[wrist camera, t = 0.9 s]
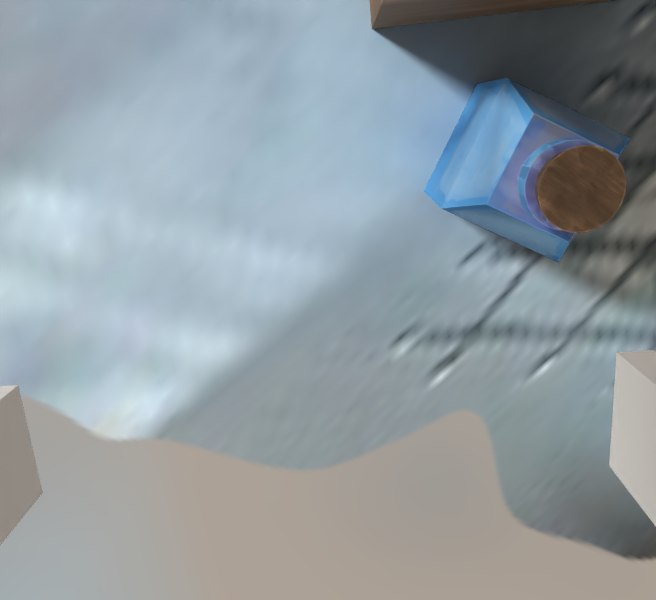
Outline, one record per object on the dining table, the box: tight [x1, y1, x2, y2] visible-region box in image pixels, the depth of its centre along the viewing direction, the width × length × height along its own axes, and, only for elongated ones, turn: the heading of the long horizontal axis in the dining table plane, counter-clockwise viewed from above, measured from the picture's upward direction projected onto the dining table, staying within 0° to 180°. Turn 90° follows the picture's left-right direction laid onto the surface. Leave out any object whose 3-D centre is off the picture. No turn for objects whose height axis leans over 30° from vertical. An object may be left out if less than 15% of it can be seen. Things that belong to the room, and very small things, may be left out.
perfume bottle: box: [424, 78, 630, 262], centre depth 28 cm, size 6×6×12 cm
